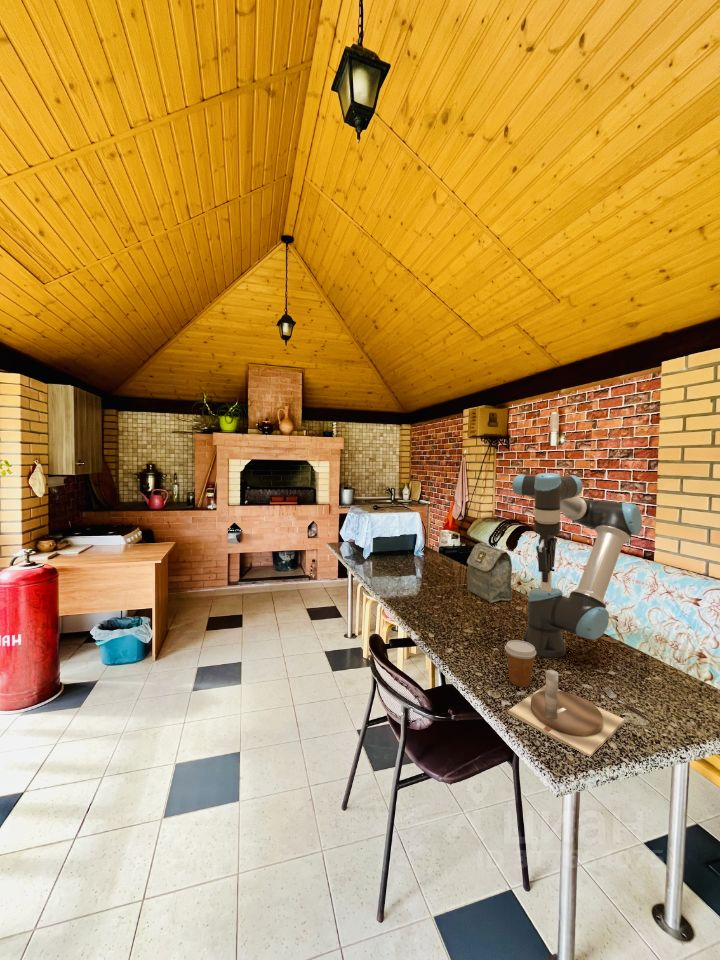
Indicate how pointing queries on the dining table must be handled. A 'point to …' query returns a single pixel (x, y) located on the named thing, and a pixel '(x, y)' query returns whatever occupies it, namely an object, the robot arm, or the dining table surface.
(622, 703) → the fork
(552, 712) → the dial
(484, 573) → the bag
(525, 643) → the disposable coffee cup
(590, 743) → the dial base
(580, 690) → the dining table surface
